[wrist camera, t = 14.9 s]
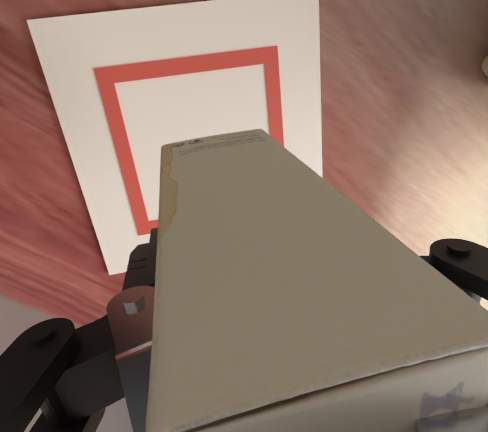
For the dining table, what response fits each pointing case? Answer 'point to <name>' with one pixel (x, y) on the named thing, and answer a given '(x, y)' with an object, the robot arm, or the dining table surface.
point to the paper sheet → (175, 95)
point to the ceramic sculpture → (485, 65)
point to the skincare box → (295, 304)
